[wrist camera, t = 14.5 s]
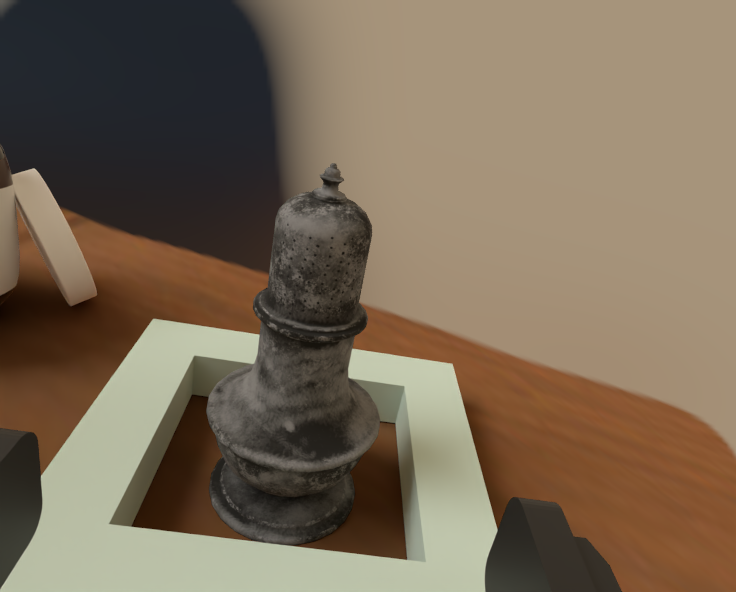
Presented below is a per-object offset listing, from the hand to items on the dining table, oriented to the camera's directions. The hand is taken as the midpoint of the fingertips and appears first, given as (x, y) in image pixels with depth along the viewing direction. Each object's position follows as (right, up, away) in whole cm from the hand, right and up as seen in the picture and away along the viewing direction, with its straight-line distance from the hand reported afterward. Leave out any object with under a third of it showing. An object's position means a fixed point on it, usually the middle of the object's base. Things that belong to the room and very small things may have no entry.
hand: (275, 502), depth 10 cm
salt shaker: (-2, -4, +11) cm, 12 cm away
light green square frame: (-2, -3, +11) cm, 12 cm away
